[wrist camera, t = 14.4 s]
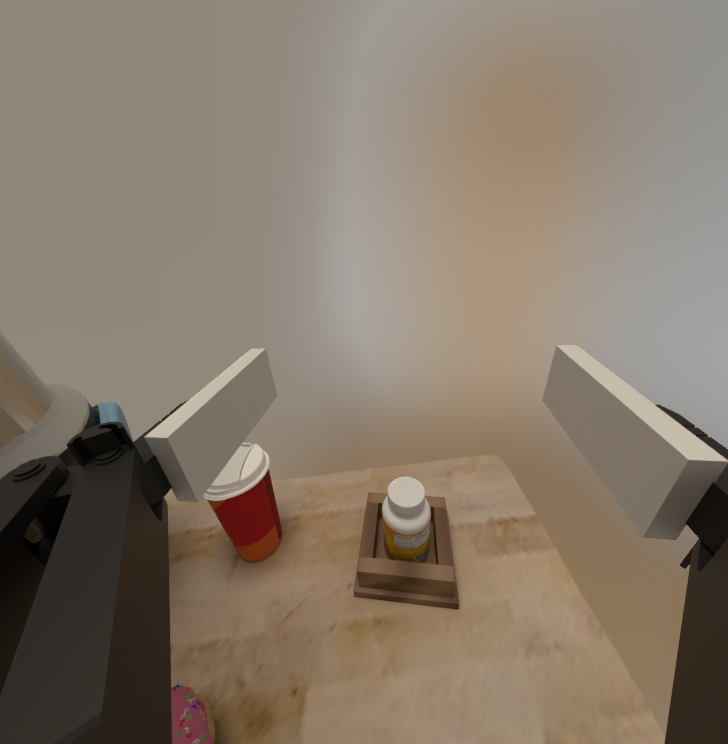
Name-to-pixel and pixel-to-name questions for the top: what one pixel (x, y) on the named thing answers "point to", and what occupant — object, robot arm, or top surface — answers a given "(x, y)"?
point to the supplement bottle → (406, 521)
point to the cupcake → (191, 718)
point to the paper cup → (247, 503)
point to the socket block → (405, 578)
